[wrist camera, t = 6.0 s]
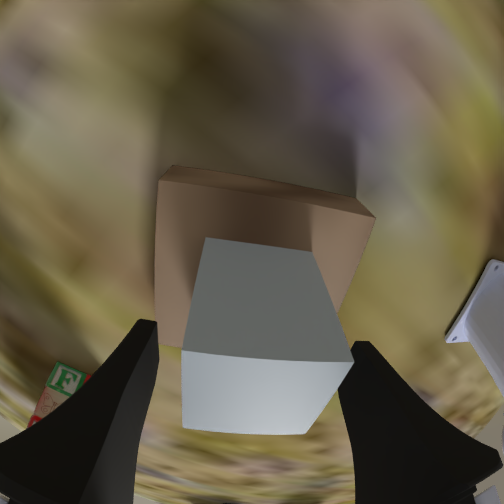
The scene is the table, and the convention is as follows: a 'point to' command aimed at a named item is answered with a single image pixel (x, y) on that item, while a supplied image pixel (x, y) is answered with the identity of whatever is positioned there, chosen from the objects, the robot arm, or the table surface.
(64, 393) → the stack of blocks
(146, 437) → the table surface
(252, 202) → the walnut block
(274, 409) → the slate block
